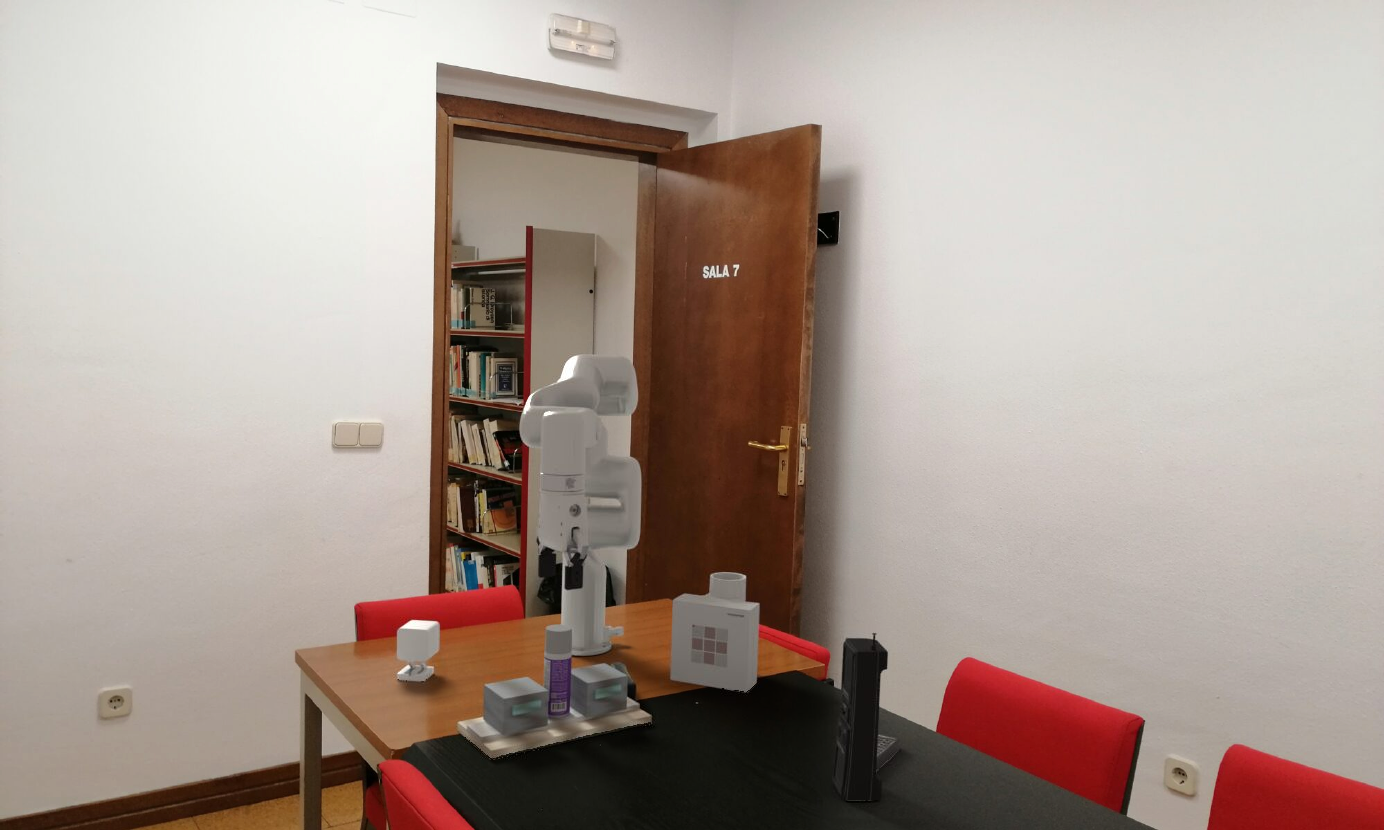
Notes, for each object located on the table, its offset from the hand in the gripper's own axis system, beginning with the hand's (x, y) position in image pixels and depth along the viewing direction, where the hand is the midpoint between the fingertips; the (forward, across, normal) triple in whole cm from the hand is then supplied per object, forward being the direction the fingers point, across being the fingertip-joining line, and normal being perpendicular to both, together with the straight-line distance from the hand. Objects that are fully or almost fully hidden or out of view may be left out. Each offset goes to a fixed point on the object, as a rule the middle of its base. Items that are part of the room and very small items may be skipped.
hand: (559, 582), depth 167 cm
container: (+23, 0, 0) cm, 23 cm away
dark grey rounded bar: (+26, +8, -18) cm, 32 cm away
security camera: (+26, +38, +11) cm, 47 cm away
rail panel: (+25, 0, 0) cm, 25 cm away
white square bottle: (+26, +9, -43) cm, 51 cm away
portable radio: (+25, -45, -27) cm, 58 cm away
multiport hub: (+26, -39, -38) cm, 60 cm away
